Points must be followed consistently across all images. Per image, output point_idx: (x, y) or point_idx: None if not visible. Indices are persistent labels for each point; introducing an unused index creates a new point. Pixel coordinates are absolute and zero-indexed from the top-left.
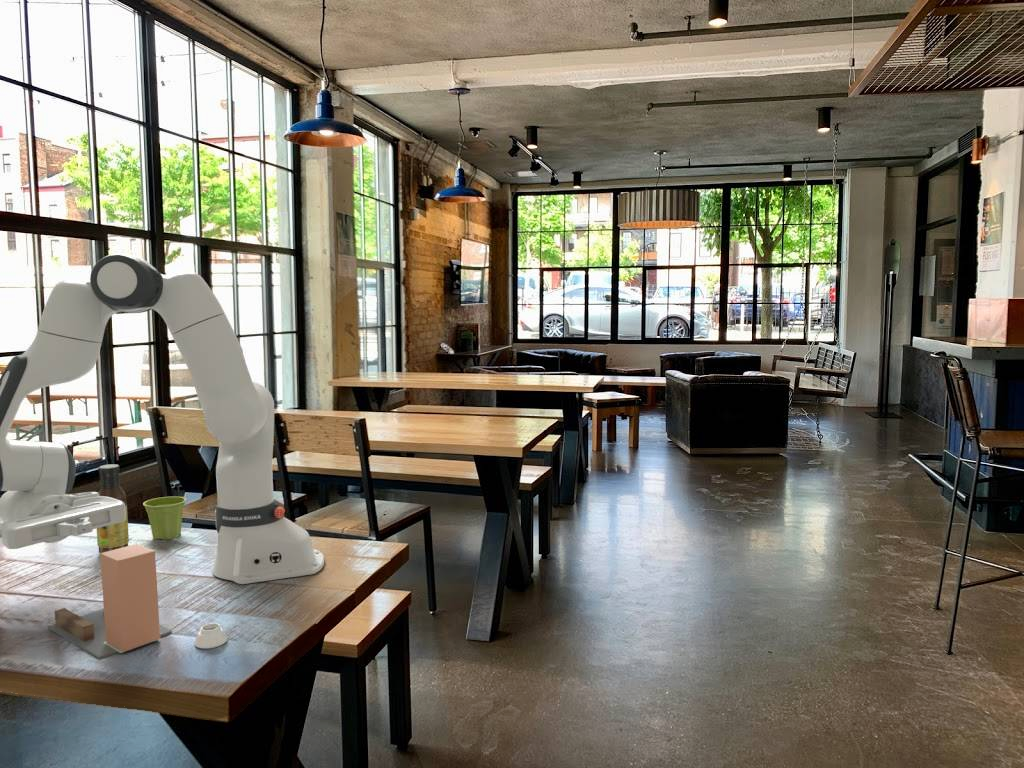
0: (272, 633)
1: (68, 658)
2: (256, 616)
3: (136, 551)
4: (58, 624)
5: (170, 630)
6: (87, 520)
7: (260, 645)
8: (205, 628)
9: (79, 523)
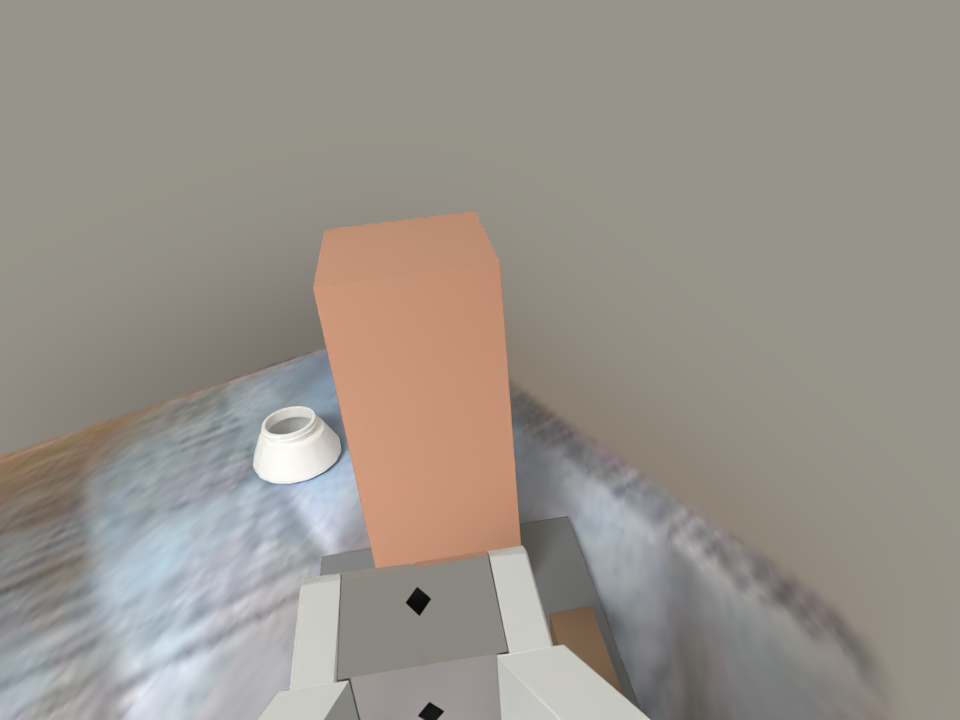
0: (175, 433)
1: (654, 578)
2: (88, 529)
3: (375, 240)
4: None
5: (323, 560)
6: (274, 705)
7: (243, 404)
8: (290, 441)
9: (425, 637)
